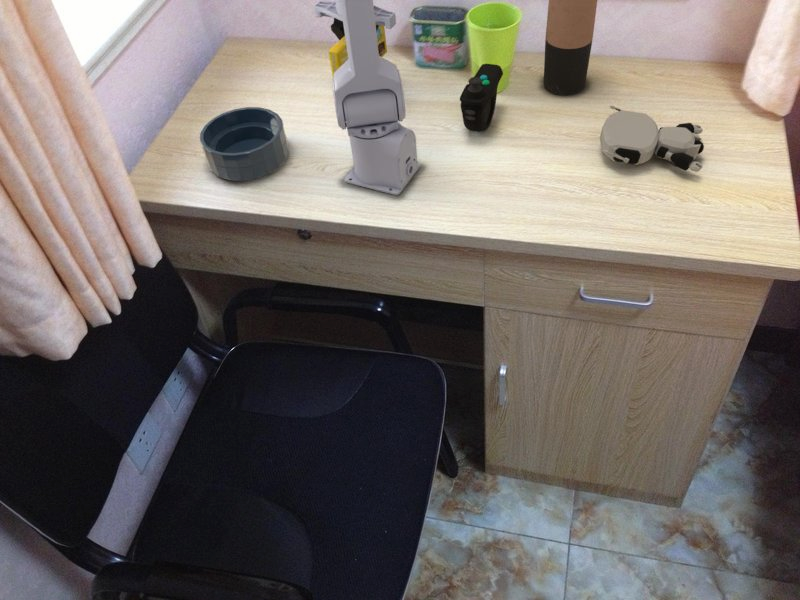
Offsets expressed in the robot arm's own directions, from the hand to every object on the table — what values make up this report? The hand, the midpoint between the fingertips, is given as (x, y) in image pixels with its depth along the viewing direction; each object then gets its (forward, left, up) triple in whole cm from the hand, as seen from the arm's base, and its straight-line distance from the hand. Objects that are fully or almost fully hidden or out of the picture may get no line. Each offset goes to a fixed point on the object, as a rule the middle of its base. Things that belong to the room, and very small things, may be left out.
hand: (360, 60), depth 120 cm
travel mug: (-33, -13, -6) cm, 36 cm away
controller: (-24, +3, -6) cm, 25 cm away
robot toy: (-51, +2, -6) cm, 51 cm away
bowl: (+8, +25, -6) cm, 27 cm away
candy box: (0, 0, -3) cm, 3 cm away
